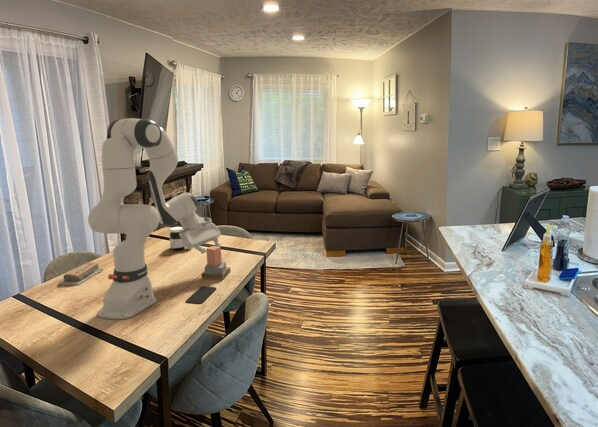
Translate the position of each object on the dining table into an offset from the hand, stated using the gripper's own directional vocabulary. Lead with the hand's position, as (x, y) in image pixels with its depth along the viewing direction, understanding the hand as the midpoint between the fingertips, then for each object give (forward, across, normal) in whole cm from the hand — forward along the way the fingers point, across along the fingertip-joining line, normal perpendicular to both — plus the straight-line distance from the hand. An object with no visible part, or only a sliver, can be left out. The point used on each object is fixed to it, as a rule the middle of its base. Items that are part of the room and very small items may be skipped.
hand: (211, 249), depth 183 cm
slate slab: (+8, -1, +5) cm, 10 cm away
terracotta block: (+6, -1, +3) cm, 7 cm away
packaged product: (-28, -32, +45) cm, 62 cm away
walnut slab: (+10, 0, +7) cm, 13 cm away
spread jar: (-21, +20, +38) cm, 48 cm away
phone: (+17, -20, +1) cm, 26 cm away
